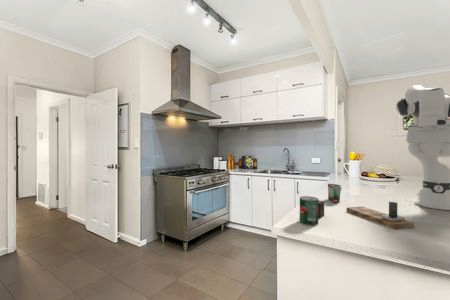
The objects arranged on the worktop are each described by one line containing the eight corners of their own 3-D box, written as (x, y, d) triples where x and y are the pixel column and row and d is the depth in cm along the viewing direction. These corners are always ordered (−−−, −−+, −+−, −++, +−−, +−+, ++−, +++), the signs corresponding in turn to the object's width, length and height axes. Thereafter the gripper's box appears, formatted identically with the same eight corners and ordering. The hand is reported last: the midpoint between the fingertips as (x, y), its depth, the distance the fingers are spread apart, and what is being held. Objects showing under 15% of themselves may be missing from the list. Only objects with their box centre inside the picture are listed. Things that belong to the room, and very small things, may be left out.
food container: (344, 204, 131) (345, 187, 131) (333, 203, 132) (334, 186, 132) (337, 199, 143) (337, 183, 143) (327, 198, 144) (327, 183, 144)
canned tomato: (295, 221, 100) (295, 197, 100) (308, 218, 104) (308, 195, 104) (309, 227, 93) (309, 201, 93) (322, 224, 97) (322, 199, 97)
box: (324, 216, 108) (324, 201, 108) (320, 218, 104) (320, 203, 104) (312, 213, 113) (312, 199, 112) (307, 216, 108) (307, 201, 108)
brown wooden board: (346, 211, 116) (346, 207, 116) (362, 210, 118) (362, 206, 118) (395, 229, 90) (395, 224, 90) (414, 227, 93) (414, 222, 93)
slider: (381, 217, 98) (381, 201, 98) (393, 216, 100) (394, 200, 100) (392, 221, 93) (392, 204, 93) (405, 220, 95) (405, 203, 95)
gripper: (403, 124, 111) (403, 152, 112) (453, 120, 91) (452, 153, 92) (413, 125, 113) (412, 152, 113) (464, 120, 93) (463, 153, 93)
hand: (431, 152), depth 102 cm, fingers open, 8 cm apart
